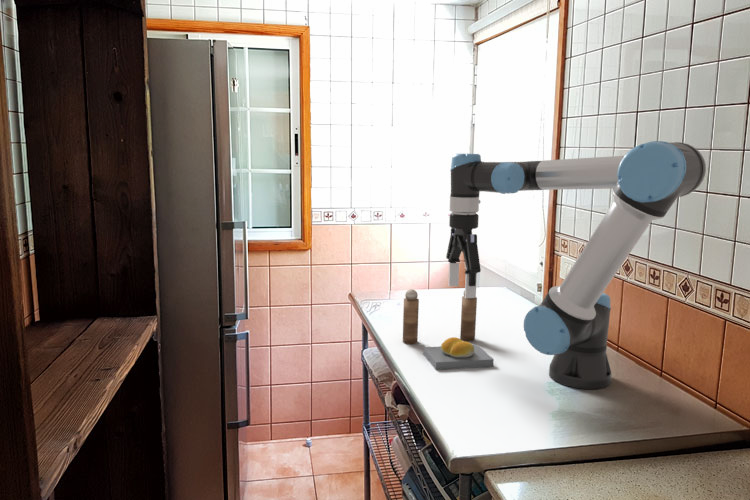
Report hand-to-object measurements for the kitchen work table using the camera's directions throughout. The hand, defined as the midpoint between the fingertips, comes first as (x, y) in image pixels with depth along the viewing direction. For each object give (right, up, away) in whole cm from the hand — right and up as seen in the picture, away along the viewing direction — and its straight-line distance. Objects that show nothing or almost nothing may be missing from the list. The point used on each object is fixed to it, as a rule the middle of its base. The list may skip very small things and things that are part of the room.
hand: (461, 291), depth 166 cm
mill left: (-13, -16, +18) cm, 27 cm away
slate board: (-1, -19, +4) cm, 19 cm away
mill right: (+5, -16, +22) cm, 27 cm away
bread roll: (-1, -17, +3) cm, 18 cm away
